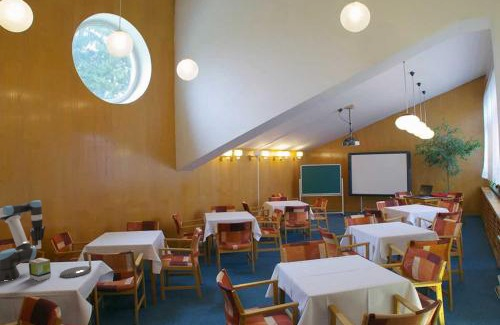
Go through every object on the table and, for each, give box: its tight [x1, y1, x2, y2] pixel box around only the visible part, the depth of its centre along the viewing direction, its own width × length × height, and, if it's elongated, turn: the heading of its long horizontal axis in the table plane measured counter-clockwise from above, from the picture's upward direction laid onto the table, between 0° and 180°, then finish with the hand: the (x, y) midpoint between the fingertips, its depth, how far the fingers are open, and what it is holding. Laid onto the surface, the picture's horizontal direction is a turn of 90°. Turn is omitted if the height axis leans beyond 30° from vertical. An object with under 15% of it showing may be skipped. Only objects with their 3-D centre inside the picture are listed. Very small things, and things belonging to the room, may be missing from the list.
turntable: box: [59, 254, 92, 279], centre depth 274 cm, size 23×23×13 cm
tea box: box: [28, 257, 52, 282], centre depth 266 cm, size 15×10×15 cm, turn 58°
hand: (38, 248), depth 265 cm, fingers closed
